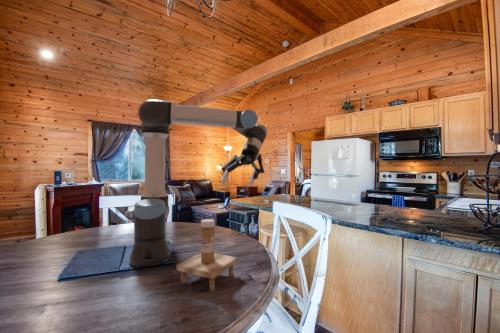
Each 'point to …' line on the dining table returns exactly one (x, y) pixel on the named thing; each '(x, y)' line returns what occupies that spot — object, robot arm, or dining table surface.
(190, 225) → the dining table surface
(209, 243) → the spice jar
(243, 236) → the dining table surface
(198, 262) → the stool
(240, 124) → the robot arm
